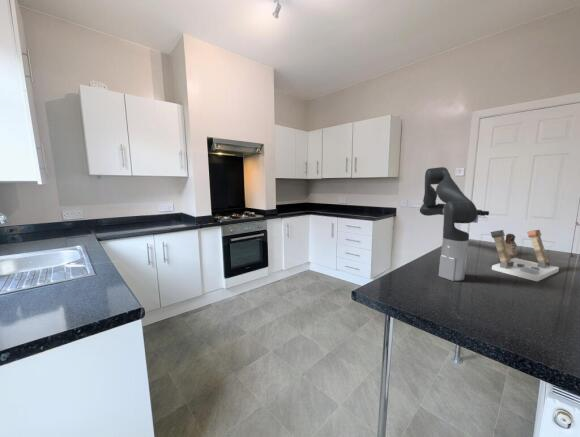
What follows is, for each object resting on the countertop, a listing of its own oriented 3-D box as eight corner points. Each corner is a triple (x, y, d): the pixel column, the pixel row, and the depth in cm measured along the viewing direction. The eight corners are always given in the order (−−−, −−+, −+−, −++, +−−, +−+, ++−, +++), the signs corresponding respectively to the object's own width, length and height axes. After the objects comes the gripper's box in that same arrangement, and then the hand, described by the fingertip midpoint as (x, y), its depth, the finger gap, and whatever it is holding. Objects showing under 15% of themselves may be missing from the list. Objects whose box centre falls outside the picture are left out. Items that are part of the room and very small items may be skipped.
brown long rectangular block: (546, 266, 112) (534, 230, 115) (538, 267, 115) (527, 231, 117) (551, 264, 115) (539, 229, 117) (543, 265, 117) (531, 230, 120)
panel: (537, 281, 102) (538, 272, 102) (491, 269, 116) (492, 261, 116) (558, 271, 114) (559, 262, 113) (514, 261, 128) (515, 253, 127)
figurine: (518, 254, 140) (521, 233, 138) (514, 256, 136) (517, 235, 134) (502, 251, 146) (504, 231, 144) (498, 253, 142) (500, 233, 140)
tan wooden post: (508, 267, 112) (497, 231, 114) (500, 267, 114) (490, 232, 117) (513, 265, 114) (503, 229, 117) (506, 265, 117) (496, 230, 119)
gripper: (447, 204, 145) (480, 207, 130) (460, 203, 151) (494, 206, 136) (446, 217, 146) (479, 221, 131) (459, 215, 152) (492, 219, 137)
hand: (486, 213), depth 134 cm, fingers open, 3 cm apart
